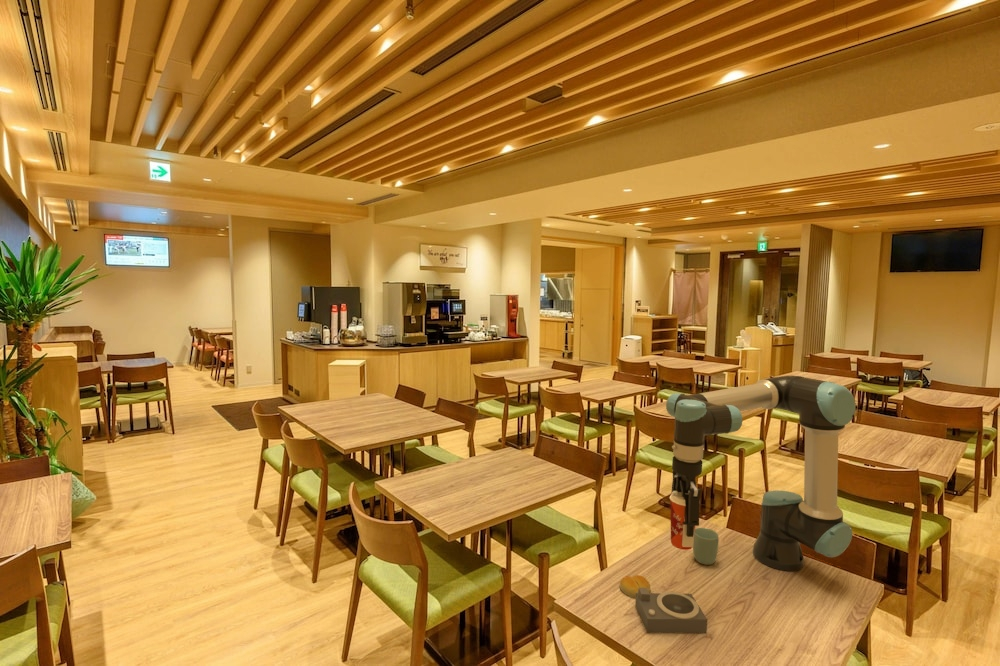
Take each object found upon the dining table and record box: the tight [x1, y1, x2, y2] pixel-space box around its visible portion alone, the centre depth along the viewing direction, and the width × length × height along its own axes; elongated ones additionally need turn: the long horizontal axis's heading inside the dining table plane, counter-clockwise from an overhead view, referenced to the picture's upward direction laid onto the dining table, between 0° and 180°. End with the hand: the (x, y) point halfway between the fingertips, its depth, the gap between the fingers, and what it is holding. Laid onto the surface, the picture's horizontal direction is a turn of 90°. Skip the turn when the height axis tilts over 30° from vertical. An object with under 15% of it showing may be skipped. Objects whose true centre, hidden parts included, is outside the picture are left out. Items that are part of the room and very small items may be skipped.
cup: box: [692, 527, 720, 566], centre depth 167 cm, size 8×8×10 cm
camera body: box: [634, 588, 708, 634], centre depth 138 cm, size 16×11×6 cm
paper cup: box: [669, 490, 696, 551], centre depth 136 cm, size 8×8×14 cm
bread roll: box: [619, 574, 652, 599], centre depth 151 cm, size 8×9×4 cm
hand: (682, 539), depth 136 cm, fingers closed on paper cup, 7 cm apart
